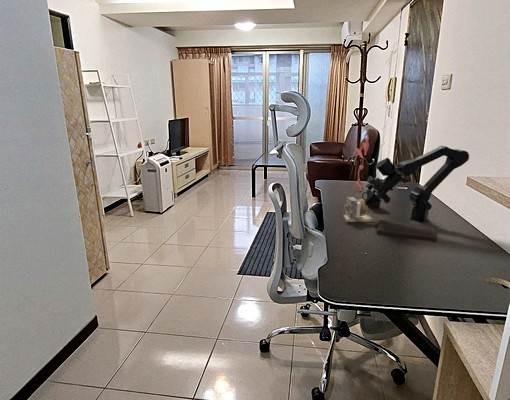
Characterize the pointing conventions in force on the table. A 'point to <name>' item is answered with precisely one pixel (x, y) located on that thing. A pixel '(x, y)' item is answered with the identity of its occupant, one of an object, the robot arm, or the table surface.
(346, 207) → the tan egg-shaped dome
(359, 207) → the spacer
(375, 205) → the coffee mug
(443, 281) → the table surface
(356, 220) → the base
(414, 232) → the hardcover book
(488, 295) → the table surface
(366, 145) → the figurine
